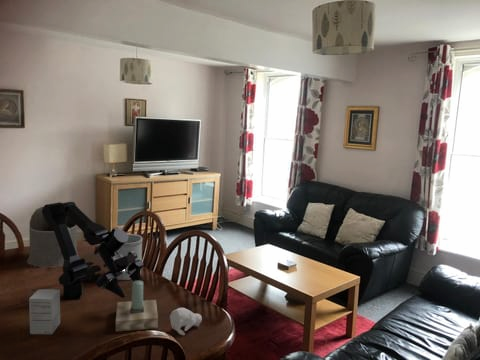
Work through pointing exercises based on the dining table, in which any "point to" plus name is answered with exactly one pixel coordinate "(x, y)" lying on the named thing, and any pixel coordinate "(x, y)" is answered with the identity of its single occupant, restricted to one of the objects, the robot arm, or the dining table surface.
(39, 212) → the gray lidded bin
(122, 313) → the square hole wooden block
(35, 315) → the supplement box
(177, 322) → the white rounded figure
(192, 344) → the dining table surface
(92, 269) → the end cap
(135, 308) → the plug
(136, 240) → the utensil holder
